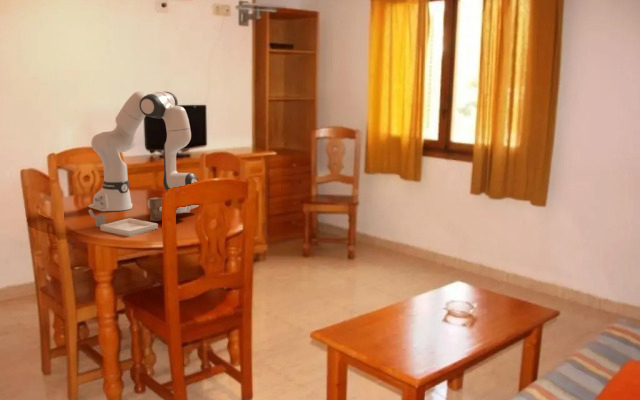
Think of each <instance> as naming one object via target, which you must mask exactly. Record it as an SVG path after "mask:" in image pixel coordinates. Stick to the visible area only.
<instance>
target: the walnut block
mask: <svg viewBox="0 0 640 400" xmlns="http://www.w3.org/2000/svg"><path fill="white" fill-rule="evenodd" d="M162 199H163V198H162V197H150V198H149V199H148V200H149V205H150V209H149V220H150V221H153V222H159V221H162V211H158V207H160V206H161V207H162Z"/></svg>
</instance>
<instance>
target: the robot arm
mask: <svg viewBox="0 0 640 400" xmlns="http://www.w3.org/2000/svg"><path fill="white" fill-rule="evenodd" d="M146 117H149V118H154V119H158V120H160V119H163V122H164V124H165V129H166V139H165V140H166V141H165V142H164V144H163V169H164V170H163V171H164V172H163V181H162V183H163V184H162V185H163V187H164V189H165V190H166V191H167V190H168V189H170V188H173V187H179V186H184V185H187V184H191V183H194V182H198V181H199V178H198V176H197V174H195V173H194V172H178V171H177V154H178V152H179V151H180V150H182V149H184V148H185V147H187V146H188V144H189V143H190V141H191V139H192V131H191V125H190V119H189V116H188V113H187V111H186V109H185V108H184V107H183V106H181V105H178V98H177V96H176V95H175V93H172V92H169V91H156V92H153V93H150V94H149V93H148V94H147V93H145V92H143V91H135V92H134V93H132V94H131V96H129V98H128V99H127V100H126V101H125V103H124V104H123V106H122V107H121V109H120V110H119V112H118V113H117V115H116V117H115V124H116V127H115V128H114V129H113V130H110V131H102V132H100V133H97V134H95V135H94V136H92V138H91V147H92V148H91V149H92V150H93V151H94V152H95V153H96V154H97V155H98V157H99V158H100V160H101V163H102V167H103V177H104V178H103V179H104V180H103V181H101V182H100V184H101V185H102V187H101V189H100V190H98V191H97V192H96V193H95V194H94V196H93V203H90V204H88V208H90V209H93V210H97V211H100V212H118V211H127V210H131V209H132V208H133V206H134V204H133V203H132V197H131V192H130V189H129V187H130V185H129V184H130V183H129V179H128V165H127V164H126V162H124V161H123V160H122V158H121V153H123V152H124V153H125V152H128V151H129V150H132V149H133V148H134V147H135V146H136V143H137V140H136V136H135V135H136V132H137V130H138V128H139V126H140V125H141V124H142V122H143V120H145V118H146ZM198 207H199V205H191V206H186V207H179V208H177V210H176V213H175V214H183V213H190V212H191V210H193V209H195V208H198ZM147 208H148V209H149V210H150V205H149V199H148V200H147ZM158 211H162V207H161V206H160V207H158Z"/></svg>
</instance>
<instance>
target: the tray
mask: <svg viewBox="0 0 640 400" xmlns="http://www.w3.org/2000/svg"><path fill="white" fill-rule="evenodd" d="M99 228H100V231H101V232H106V233H112V234H116V235H120V236H124V237H129V238H130V237H134V236H137V235H142V234H145V233H148V232H149V233H150V232H152V230H153V231H156V230H159V224H158V223H156V222H151V221H146V220H141V219H134V218H129V217H128V218H125V219H121V220H120V219H119V220H116V221H113V222H112V221H111V222H106V224H103V225H100V227H99ZM155 229H156V230H155Z"/></svg>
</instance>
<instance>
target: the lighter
mask: <svg viewBox="0 0 640 400" xmlns="http://www.w3.org/2000/svg"><path fill="white" fill-rule="evenodd" d="M87 212H88V213H89V215H90V217H91V218H92V219H93V220H94V219H95V227H96V228H101V227H100V225H103V224H107V219H106V218H107V217H106V216H105V214H102V213H101V214H97V216H96V215H95V213H94V212H93V210H92V208H90V209H89V210H87Z"/></svg>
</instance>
